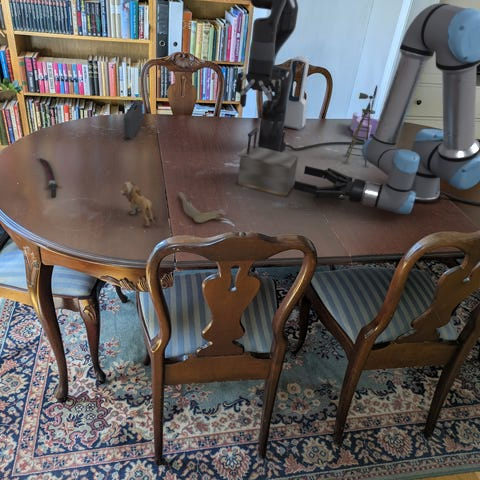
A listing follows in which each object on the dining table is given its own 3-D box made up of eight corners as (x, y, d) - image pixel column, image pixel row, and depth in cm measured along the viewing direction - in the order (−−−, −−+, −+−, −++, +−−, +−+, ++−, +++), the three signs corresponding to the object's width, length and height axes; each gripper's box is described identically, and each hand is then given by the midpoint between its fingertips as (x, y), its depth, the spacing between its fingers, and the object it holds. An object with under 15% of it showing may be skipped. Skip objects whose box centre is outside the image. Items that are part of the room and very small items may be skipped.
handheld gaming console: (136, 121, 202) (136, 98, 197) (143, 121, 202) (142, 98, 197) (123, 140, 183) (122, 115, 178) (130, 141, 183) (130, 116, 178)
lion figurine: (118, 210, 138) (116, 182, 133) (132, 204, 141) (131, 177, 137) (151, 229, 130) (150, 201, 126) (165, 223, 134) (165, 195, 129)
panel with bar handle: (237, 156, 155) (240, 132, 151) (248, 146, 163) (250, 124, 159) (289, 168, 150) (293, 144, 146) (298, 158, 158) (301, 135, 154)
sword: (61, 197, 141) (61, 193, 140) (50, 198, 139) (50, 194, 139) (49, 160, 164) (48, 156, 163) (39, 160, 163) (39, 157, 162)
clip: (343, 126, 223) (346, 112, 219) (367, 127, 225) (371, 113, 221) (360, 142, 206) (364, 127, 202) (386, 142, 209) (390, 127, 205)
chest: (237, 184, 160) (240, 156, 155) (248, 173, 168) (250, 147, 163) (285, 196, 156) (289, 168, 150) (293, 184, 164) (298, 158, 158)
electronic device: (304, 126, 217) (316, 59, 201) (301, 131, 211) (313, 62, 195) (279, 121, 220) (288, 54, 204) (275, 125, 214) (284, 57, 198)
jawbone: (206, 230, 134) (206, 224, 132) (158, 205, 144) (157, 199, 143) (227, 217, 139) (227, 212, 138) (179, 194, 150) (179, 188, 148)
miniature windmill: (366, 166, 183) (386, 89, 167) (344, 163, 184) (362, 86, 168) (365, 158, 191) (384, 83, 175) (345, 154, 192) (362, 80, 176)
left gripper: (235, 54, 140) (230, 107, 149) (280, 62, 137) (272, 116, 145) (244, 50, 146) (239, 102, 155) (287, 58, 143) (280, 110, 151)
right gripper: (354, 219, 141) (287, 202, 146) (366, 187, 161) (306, 173, 166) (360, 198, 137) (291, 181, 142) (371, 167, 157) (310, 154, 162)
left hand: (255, 109), depth 150 cm, fingers open, 8 cm apart
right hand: (299, 177), depth 154 cm, fingers open, 13 cm apart
